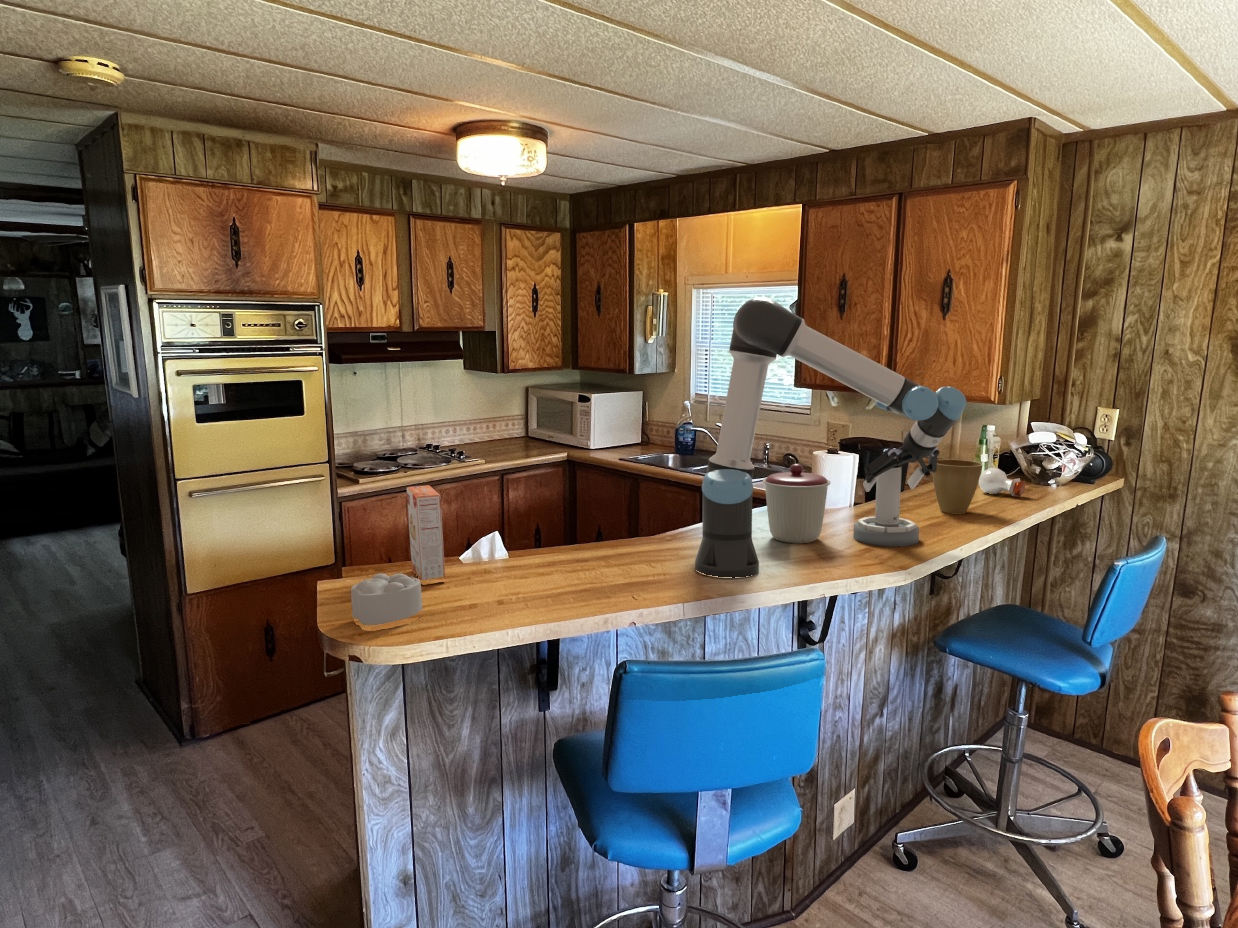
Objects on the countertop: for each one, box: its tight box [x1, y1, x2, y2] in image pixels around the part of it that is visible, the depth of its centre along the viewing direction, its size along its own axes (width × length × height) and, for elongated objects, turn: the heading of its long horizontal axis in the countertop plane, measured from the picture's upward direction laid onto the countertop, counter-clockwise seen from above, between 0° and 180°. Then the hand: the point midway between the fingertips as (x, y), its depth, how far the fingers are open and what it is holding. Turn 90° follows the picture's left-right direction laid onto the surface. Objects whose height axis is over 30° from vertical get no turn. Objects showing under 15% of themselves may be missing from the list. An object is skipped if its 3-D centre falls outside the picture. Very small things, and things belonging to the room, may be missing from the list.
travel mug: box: [874, 455, 903, 527], centre depth 209 cm, size 6×7×20 cm
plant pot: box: [931, 459, 984, 515], centre depth 244 cm, size 15×15×16 cm
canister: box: [762, 463, 831, 544], centre depth 211 cm, size 18×18×21 cm
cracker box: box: [406, 484, 446, 580], centre depth 180 cm, size 14×6×21 cm, turn 23°
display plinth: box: [852, 516, 920, 548], centre depth 211 cm, size 17×17×5 cm
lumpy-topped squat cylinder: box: [350, 572, 423, 625], centre depth 152 cm, size 10×13×9 cm
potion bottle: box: [978, 467, 1026, 498], centre depth 271 cm, size 9×10×15 cm
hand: (888, 486), depth 209 cm, fingers open, 13 cm apart
